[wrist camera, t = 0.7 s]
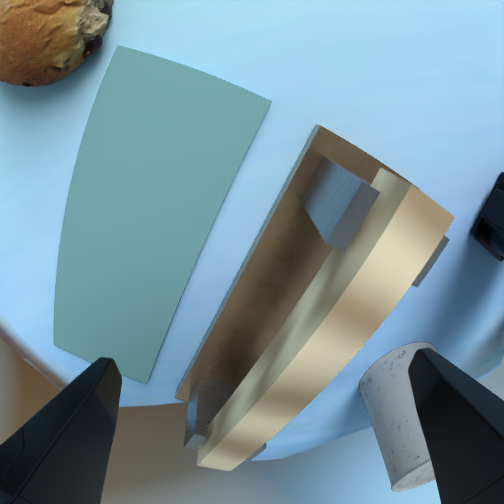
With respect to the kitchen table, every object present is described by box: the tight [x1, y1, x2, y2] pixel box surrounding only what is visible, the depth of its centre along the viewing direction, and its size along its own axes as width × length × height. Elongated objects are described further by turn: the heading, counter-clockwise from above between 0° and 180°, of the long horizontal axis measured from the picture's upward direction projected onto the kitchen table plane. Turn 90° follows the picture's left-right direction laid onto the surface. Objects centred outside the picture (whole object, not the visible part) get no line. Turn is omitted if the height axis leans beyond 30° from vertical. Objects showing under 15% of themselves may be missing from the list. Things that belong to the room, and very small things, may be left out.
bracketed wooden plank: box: [175, 125, 449, 460], centre depth 20 cm, size 26×8×7 cm, turn 155°
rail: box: [197, 168, 455, 471], centre depth 17 cm, size 25×3×3 cm, turn 155°
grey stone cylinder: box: [359, 342, 438, 491], centre depth 22 cm, size 10×10×12 cm
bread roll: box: [0, 0, 113, 87], centre depth 10 cm, size 10×10×8 cm
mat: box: [54, 46, 272, 384], centre depth 20 cm, size 10×26×1 cm, turn 154°
